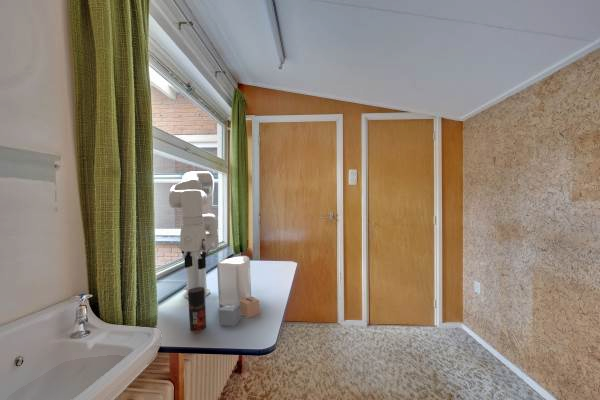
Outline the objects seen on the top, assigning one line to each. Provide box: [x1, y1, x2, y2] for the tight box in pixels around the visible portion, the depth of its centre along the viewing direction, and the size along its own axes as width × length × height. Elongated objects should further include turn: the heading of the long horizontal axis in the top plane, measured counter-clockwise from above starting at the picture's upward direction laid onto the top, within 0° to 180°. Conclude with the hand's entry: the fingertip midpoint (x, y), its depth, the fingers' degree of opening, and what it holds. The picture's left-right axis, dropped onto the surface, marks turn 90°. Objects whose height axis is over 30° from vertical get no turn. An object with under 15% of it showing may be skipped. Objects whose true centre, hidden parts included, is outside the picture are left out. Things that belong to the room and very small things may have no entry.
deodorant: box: [188, 287, 207, 333], centre depth 103 cm, size 6×6×15 cm
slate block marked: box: [218, 304, 241, 327], centre depth 107 cm, size 6×6×6 cm
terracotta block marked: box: [240, 295, 261, 319], centre depth 114 cm, size 6×6×6 cm
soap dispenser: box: [216, 255, 252, 307], centre depth 126 cm, size 15×14×22 cm
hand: (195, 267), depth 103 cm, fingers open, 6 cm apart
